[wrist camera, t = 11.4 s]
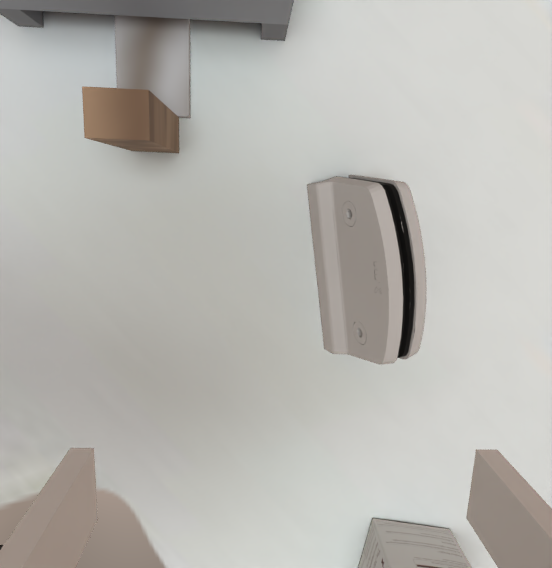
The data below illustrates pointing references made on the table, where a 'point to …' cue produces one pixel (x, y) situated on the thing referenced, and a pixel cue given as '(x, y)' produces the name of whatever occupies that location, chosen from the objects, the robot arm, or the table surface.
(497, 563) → the robot arm
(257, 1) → the low cabinet
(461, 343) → the table surface
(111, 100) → the wooden block bookend
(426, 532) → the supplement box
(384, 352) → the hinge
